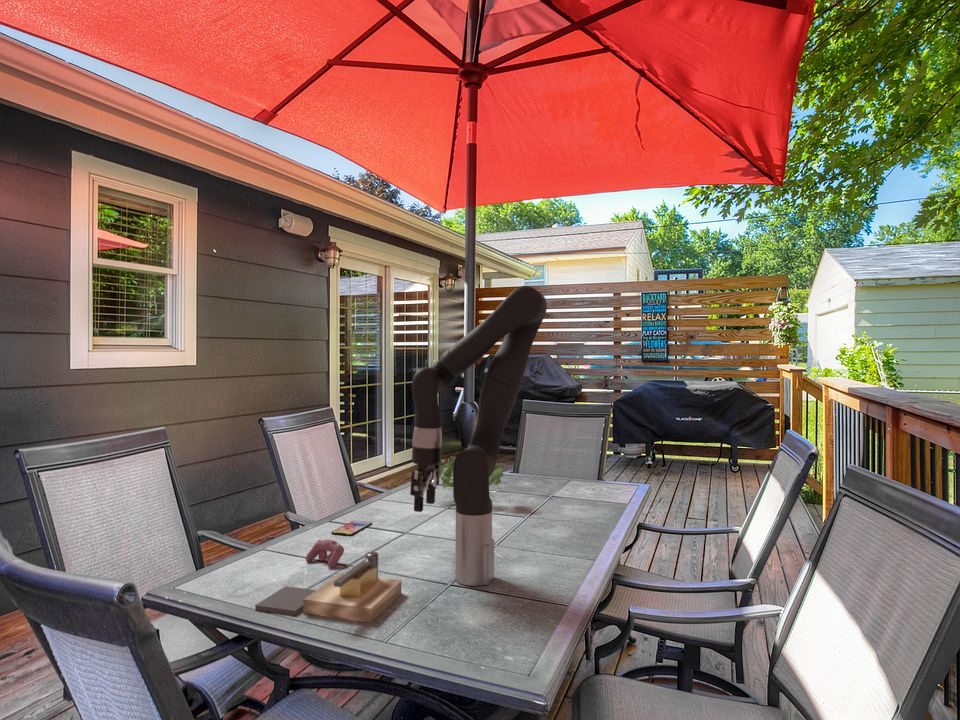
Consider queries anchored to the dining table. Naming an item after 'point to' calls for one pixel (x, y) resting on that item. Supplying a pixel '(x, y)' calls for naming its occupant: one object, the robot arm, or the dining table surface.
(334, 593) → the base plate
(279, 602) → the mat
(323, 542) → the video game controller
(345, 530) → the smartphone
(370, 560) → the clamp lever
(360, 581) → the brown rectangular block
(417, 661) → the dining table surface
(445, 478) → the plant cuttings
